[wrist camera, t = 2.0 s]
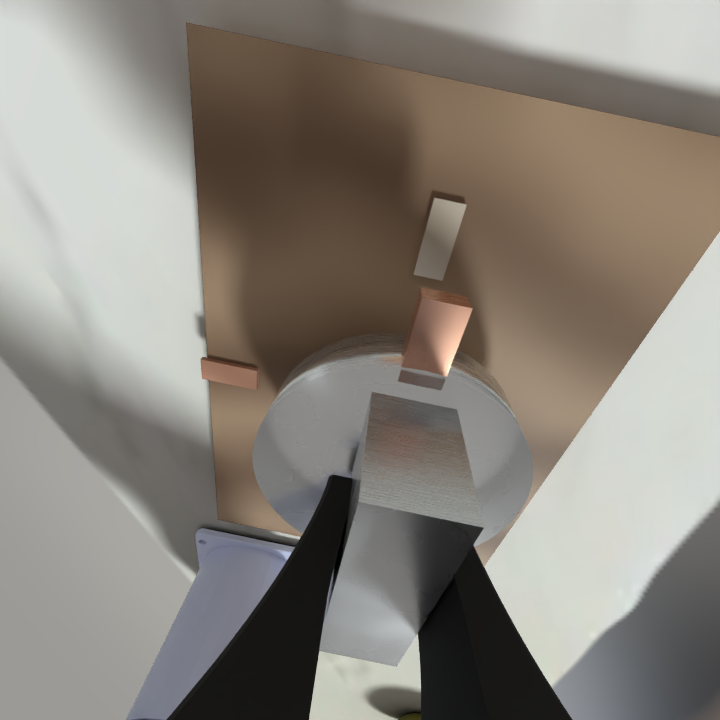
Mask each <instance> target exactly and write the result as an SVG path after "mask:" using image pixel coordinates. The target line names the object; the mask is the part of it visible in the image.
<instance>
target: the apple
mask: <svg viewBox="0 0 720 720" xmlns="http://www.w3.org/2000/svg"><path fill="white" fill-rule="evenodd" d="M398 720H421V713H410V714H406V715H404V716H402V717H401V718H399V719H398Z"/></svg>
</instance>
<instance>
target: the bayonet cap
mask: <svg viewBox="0 0 720 720" xmlns="http://www.w3.org/2000/svg"><path fill="white" fill-rule="evenodd" d="M472 309H473V308H472V306H471V304H470V302H469V300H468V298H467V296H462V295H457V294H453V293H448V292H443V291H438V290H434V289H429V288H424V287H420V289H419V293H418V296H417V300H416V303H415V307H414V310H413V314H412V318H411V321H410V325H409V328H408V332H407V334H399V333H377V334H366V335H360V336H356V337H351V338H346V339H343V340H341V341H338V342H335V343H332V344H329V345H327V346H325V347H323V348H321V349H319V350H317V351H315V352H314V353H313V354H311V355H310V356H308V357H307V358H305V359H304V360H303V361H301V362H300V363H299V364H298V365H297V366H296V367H295V368H294V369H293V370H292V371H291V372H290V374H289V375H288V376H287V378H286V379H285V380H284V382H283V384H282V385H281V387H280V389H279V391H278V393H277V395H276V397H275V399H274V400H273V402H272V404H271V406H270V408H269V410H268V412H267V414H266V416H265V418H264V419H263V421H262V423H261V425H260V427H259V429H258V431H257V434H256V438H255V441H254V446H253V454H252V457H253V469H254V473H255V477H256V480H257V483H258V485H259V487H260V489H261V492H262V493H263V495H264V496H265V498H266V500H267V501H268V503H269V504H270V505H271V506H272V508H273V509H274V510H275V511H276V512H277V513H278V514H279V515H280V516H281V517H282V518H283V519H284V520H285V521H286V522H287V523H289V524H290V525H291V526H292V527H294V528H295V529H296V530H298V531H299V532H301V533H304V531H305V529H306V527H307V525H308V524H309V522H310V520H311V518H312V516H313V514H314V512H315V510H316V508H317V506H318V504H319V502H320V500H321V497H322V495H323V492H324V490H325V487H326V484H327V481H328V478H329V476H331V475H333V474H334V475H338V476H343V477H348V478H353V480H352V489H351V497H350V505H349V510H348V514H347V518H346V522H345V526H344V530H343V534H342V538H341V542H340V546H339V550H338V554H337V558H336V562H335V566H334V570H333V574H332V578H331V583H330V587H329V592H328V597H327V603H326V610H325V616H324V623H323V629H322V635H321V642H320V648H319V651H323V652H328V653H333V654H337V655H342V656H347V657H352V658H357V659H362V660H367V661H372V662H376V663H381V664H386V665H391V666H396V667H397V665H398V663H399V662H400V660H401V659H402V657H403V656H404V654H405V652H406V651H407V649H408V648H409V646H410V644H411V643H412V641H413V640H414V638H415V637H416V635H417V633H418V632H419V630H420V629H421V627H422V625H423V624H424V622H425V621H426V619H427V618H428V616H429V614H430V613H431V611H432V610H433V608H434V606H435V605H436V603H437V602H438V600H439V599H440V597H441V595H442V594H443V592H444V591H445V589H446V587H447V586H448V584H449V583H450V581H451V579H452V578H453V576H454V575H455V573H456V572H457V570H458V568H459V567H460V565H461V564H462V562H463V560H464V559H465V557H466V556H467V554H468V553H469V551H470V549H471V548H472V546H473V545H474V547H475V546H478V545H480V544H481V543H483V542H485V541H487V540H489V539H491V538H492V537H494V536H495V535H496V534H498V533H499V532H501V531H502V530H503V529H504V528H505V527H506V526H508V525H509V524H510V523H511V522H512V521H513V520H514V518H515V517H516V516H517V515H518V513H519V512H520V511H521V509H522V508H523V506H524V504H525V502H526V501H527V498H528V496H529V493H530V490H531V487H532V481H533V460H532V456H531V452H530V448H529V445H528V443H527V441H526V438H525V436H524V434H523V432H522V429H521V427H520V425H519V423H518V421H517V418H516V416H515V414H514V412H513V409H512V407H511V405H510V403H509V401H508V399H507V397H506V394H505V392H504V390H503V389H502V388H501V386H500V385H499V383H498V382H497V380H496V379H495V378H494V377H493V376H492V375H491V374H490V373H489V372H488V371H487V370H486V369H485V367H483V366H482V365H481V364H479V363H478V362H477V361H475V360H474V359H473V358H472V357H470V356H468V355H467V354H465V353H463V352H461V351H460V350H458V346H459V343H460V341H461V338H462V335H463V333H464V330H465V328H466V325H467V322H468V320H469V317H470V315H471V312H472Z"/></svg>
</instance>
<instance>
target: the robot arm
mask: <svg viewBox="0 0 720 720" xmlns="http://www.w3.org/2000/svg"><path fill="white" fill-rule="evenodd" d="M352 480H353V478H348V477H343V476H338V475H334V474H333V475H331V476H329V478H328V481H327V484H326V487H325V490H324V492H323V495H322V497H321V500H320V502H319V504H318V506H317V508H316V510H315V512H314V514H313V516H312V518H311V520H310V522H309V524H308V525H307V527H306V529H305V531H304V533H303V534H302V536H301V538H300V540H299V542H298V543H297V545H296V547H292V546H287V545H282V544H277V543H272V542H268V541H263V540H258V539H253V538H248V537H243V536H239V535H234V534H229V533H224V532H219V531H214V530H209V529H205V528H201V529H198V530H197V532H196V534H195V539H196V547H197V555H198V563H199V571H198V573H197V575H196V578H195V580H194V582H193V584H192V586H191V588H190V590H189V592H188V594H187V596H186V598H185V600H184V602H183V604H182V606H181V608H180V610H179V612H178V614H177V617H176V619H175V620H174V622H173V624H172V627H171V629H170V631H169V633H168V635H167V637H166V639H165V641H164V643H163V645H162V647H161V649H160V651H159V653H158V655H157V657H156V659H155V661H154V663H153V665H152V667H151V669H150V672H149V673H148V675H147V677H146V680H145V682H144V684H143V686H142V688H141V690H140V692H139V694H138V696H137V698H136V700H135V702H134V704H133V706H132V708H131V710H130V712H129V714H128V716H127V718H126V720H309V714H310V708H311V701H312V694H313V688H314V681H315V675H316V668H317V661H318V655H319V648H320V642H321V635H322V629H323V623H324V616H325V610H326V603H327V597H328V592H329V587H330V583H331V578H332V574H333V570H334V566H335V562H336V558H337V554H338V550H339V546H340V542H341V538H342V534H343V530H344V526H345V522H346V518H347V514H348V510H349V505H350V497H351V489H352ZM418 638H419V652H420V668H421V720H572V719H571V717H570V715H569V714H568V713H567V711H566V709H565V708H564V707H563V705H562V703H561V702H560V700H559V699H558V697H557V695H556V694H555V692H554V691H553V689H552V688H551V686H550V684H549V683H548V681H547V680H546V678H545V676H544V675H543V673H542V672H541V670H540V668H539V667H538V665H537V663H536V662H535V660H534V658H533V657H532V655H531V653H530V652H529V650H528V648H527V647H526V645H525V643H524V642H523V640H522V638H521V636H520V635H519V633H518V631H517V629H516V627H515V626H514V624H513V622H512V620H511V618H510V616H509V615H508V613H507V611H506V609H505V607H504V605H503V604H502V602H501V600H500V598H499V596H498V594H497V592H496V590H495V588H494V586H493V584H492V582H491V580H490V578H489V576H488V574H487V572H486V570H485V568H484V566H483V564H482V562H481V560H480V558H479V556H478V553H477V551H476V549H475V547H474V545H473V546H472V548H471V549H470V551H469V553H468V554H467V556H466V557H465V559H464V560H463V562H462V564H461V565H460V567H459V568H458V570H457V572H456V573H455V575H454V576H453V578H452V579H451V581H450V583H449V584H448V586H447V587H446V589H445V591H444V592H443V594H442V595H441V597H440V599H439V600H438V602H437V603H436V605H435V606H434V608H433V610H432V611H431V613H430V614H429V616H428V618H427V619H426V621H425V622H424V624H423V625H422V627H421V629H420V630H419V632H418Z"/></svg>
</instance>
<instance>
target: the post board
mask: <svg viewBox="0 0 720 720" xmlns="http://www.w3.org/2000/svg"><path fill="white" fill-rule="evenodd" d="M186 26H187V41H188V57H189V73H190V88H191V104H192V120H193V135H194V151H195V167H196V183H197V198H198V214H199V230H200V245H201V261H202V277H203V293H204V308H205V324H206V340H207V355H208V358H206V357H202V358H201V370H202V379H206V380H209V387H210V402H211V418H212V434H213V450H214V465H215V481H216V497H217V512H218V520H223V521H228V522H232V523H237V524H242V525H247V526H252V527H257V528H261V529H266V530H271V531H276V532H281V533H286V534H290V535H295V536H300V537H301V536H302V534H303V533H301V532H299V531H298V530H296V529H295V528H294V527H292V526H291V525H290V524H289V523H287V522H286V521H285V520H284V519H283V518H282V517H281V516H280V515H279V514H278V513H277V512H276V511H275V510H274V509H273V508H272V506H271V505H270V504H269V503H268V501H267V500H266V498H265V496H264V495H263V493H262V492H261V489H260V487H259V485H258V483H257V480H256V477H255V473H254V469H253V457H252V454H253V446H254V441H255V438H256V434H257V431H258V429H259V427H260V425H261V423H262V421H263V419H264V418H265V416H266V414H267V412H268V410H269V408H270V406H271V404H272V402H273V400H274V399H275V397H276V395H277V393H278V391H279V389H280V387H281V385H282V384H283V382H284V380H285V379H286V378H287V376H288V375H289V374H290V372H291V371H292V370H293V369H294V368H295V367H296V366H297V365H298V364H299V363H300V362H301V361H303V360H304V359H305V358H307V357H308V356H310V355H311V354H313V353H314V352H315V351H317V350H319V349H321V348H323V347H325V346H327V345H329V344H332V343H335V342H338V341H341V340H343V339H346V338H351V337H356V336H360V335H366V334H377V333H399V334H407V332H408V328H409V325H410V321H411V318H412V314H413V310H414V307H415V303H416V300H417V296H418V293H419V289H420V287H424V288H429V289H434V290H438V291H443V292H448V293H453V294H457V295H462V296H467V298H468V300H469V302H470V304H471V306H472V308H473V309H472V312H471V315H470V317H469V320H468V322H467V325H466V328H465V330H464V333H463V335H462V338H461V341H460V343H459V346H458V350H460V351H461V352H463V353H465V354H467V355H468V356H470V357H472V358H473V359H474V360H475V361H477V362H478V363H479V364H481V365H482V366H483V367H485V369H486V370H487V371H488V372H489V373H490V374H491V375H492V376H493V377H494V378H495V379H496V380H497V382H498V383H499V385H500V386H501V388H502V389H503V390H504V392H505V394H506V397H507V399H508V401H509V403H510V405H511V407H512V409H513V412H514V414H515V416H516V418H517V421H518V423H519V425H520V427H521V429H522V432H523V434H524V436H525V438H526V441H527V443H528V445H529V448H530V452H531V456H532V460H533V481H532V487H531V490H530V493H529V496H528V498H527V501H526V502H525V504H524V506H523V508H522V509H521V511H520V512H519V513H518V515H517V516H516V517H515V518H514V520H513V521H512V522H511V523H510V524H509V525H508V526H506V527H505V528H504V529H503V530H502V531H501V532H499V533H498V534H496V535H495V536H494V537H492V538H491V539H489V540H487V541H485V542H483V543H481V544H480V545H478V546H475V549H476V551H477V553H478V556H479V558H480V560H481V562H482V564H483V566H485V565H486V563H487V562H488V560H489V559H490V557H491V556H492V555H493V553H494V552H495V550H496V549H497V547H498V546H499V545H500V543H501V542H502V540H503V539H504V537H505V536H506V535H507V533H508V532H509V530H510V529H511V528H512V526H513V525H514V523H515V522H516V520H517V519H518V518H519V516H520V515H521V513H522V512H523V510H524V509H525V508H526V506H527V505H528V503H529V502H530V500H531V499H532V498H533V496H534V495H535V493H536V492H537V491H538V489H539V488H540V486H541V485H542V483H543V482H544V481H545V479H546V478H547V476H548V475H549V473H550V472H551V471H552V469H553V468H554V466H555V465H556V463H557V462H558V461H559V459H560V458H561V456H562V455H563V454H564V452H565V451H566V449H567V448H568V446H569V445H570V444H571V442H572V441H573V439H574V438H575V436H576V435H577V434H578V432H579V431H580V429H581V428H582V426H583V425H584V424H585V422H586V421H587V419H588V418H589V416H590V415H591V414H592V412H593V411H594V409H595V408H596V407H597V405H598V404H599V402H600V401H601V399H602V398H603V397H604V395H605V394H606V392H607V391H608V389H609V388H610V387H611V385H612V384H613V382H614V381H615V379H616V378H617V377H618V375H619V374H620V372H621V371H622V370H623V368H624V367H625V365H626V364H627V362H628V361H629V360H630V358H631V357H632V355H633V354H634V352H635V351H636V350H637V348H638V347H639V345H640V344H641V342H642V341H643V340H644V338H645V337H646V335H647V334H648V333H649V331H650V330H651V328H652V327H653V325H654V324H655V323H656V321H657V320H658V318H659V317H660V315H661V314H662V313H663V311H664V310H665V308H666V307H667V305H668V304H669V303H670V301H671V300H672V298H673V297H674V295H675V294H676V293H677V291H678V290H679V288H680V287H681V286H682V284H683V283H684V281H685V280H686V278H687V277H688V276H689V274H690V273H691V271H692V270H693V268H694V267H695V266H696V264H697V263H698V261H699V260H700V258H701V257H702V256H703V254H704V253H705V251H706V250H707V249H708V247H709V246H710V244H711V243H712V241H713V240H714V239H715V237H716V236H717V234H718V233H719V231H720V137H717V136H713V135H708V134H703V133H699V132H694V131H689V130H685V129H680V128H675V127H671V126H666V125H662V124H657V123H652V122H648V121H643V120H638V119H634V118H629V117H624V116H620V115H615V114H610V113H606V112H601V111H596V110H592V109H587V108H582V107H578V106H573V105H568V104H564V103H559V102H554V101H550V100H545V99H540V98H536V97H531V96H526V95H522V94H517V93H512V92H508V91H503V90H498V89H494V88H489V87H484V86H480V85H475V84H470V83H466V82H461V81H456V80H452V79H447V78H442V77H438V76H433V75H428V74H424V73H419V72H414V71H410V70H405V69H400V68H396V67H391V66H386V65H382V64H377V63H372V62H368V61H363V60H358V59H354V58H349V57H344V56H340V55H335V54H330V53H326V52H321V51H317V50H312V49H307V48H303V47H298V46H293V45H289V44H284V43H279V42H275V41H270V40H265V39H261V38H256V37H251V36H247V35H242V34H237V33H233V32H228V31H223V30H219V29H214V28H209V27H205V26H200V25H195V24H191V23H186Z"/></svg>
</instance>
